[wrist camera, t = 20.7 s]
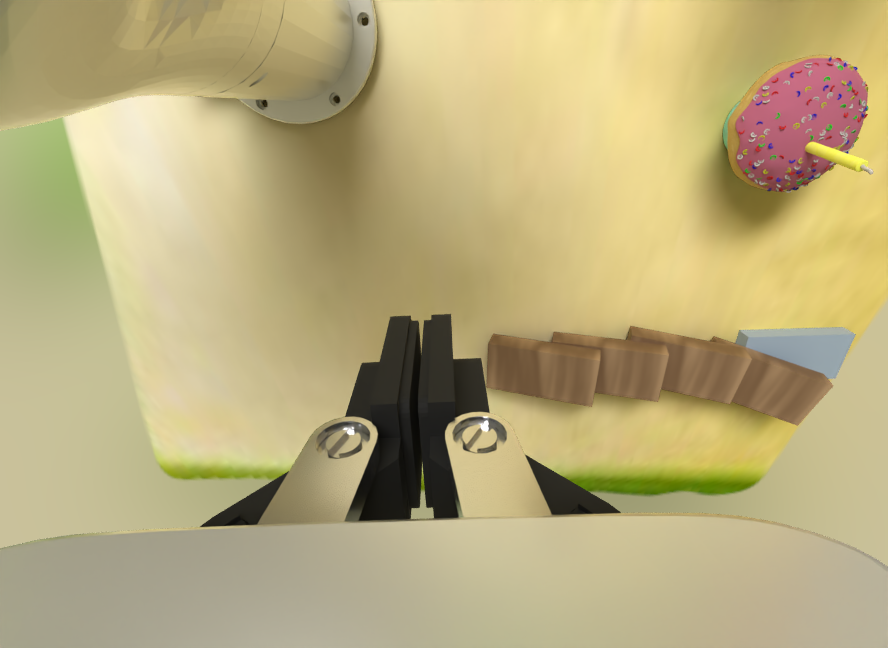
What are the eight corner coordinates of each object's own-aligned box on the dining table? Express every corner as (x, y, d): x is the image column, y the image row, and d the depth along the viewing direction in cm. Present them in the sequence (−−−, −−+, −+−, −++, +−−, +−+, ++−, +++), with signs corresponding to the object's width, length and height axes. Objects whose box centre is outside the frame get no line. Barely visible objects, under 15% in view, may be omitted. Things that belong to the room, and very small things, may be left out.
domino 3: (617, 379, 42) (729, 404, 40) (632, 335, 40) (752, 359, 38) (616, 368, 44) (724, 391, 42) (630, 326, 42) (745, 348, 40)
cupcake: (778, 186, 36) (919, 220, 25) (680, 174, 36) (782, 204, 25) (831, 68, 32) (1023, 49, 22) (721, 53, 32) (863, 26, 21)
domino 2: (547, 385, 43) (657, 401, 40) (552, 341, 41) (669, 355, 38) (549, 374, 44) (655, 389, 42) (553, 331, 42) (665, 344, 40)
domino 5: (690, 386, 43) (797, 425, 41) (718, 346, 40) (833, 385, 39) (687, 375, 44) (790, 412, 43) (713, 336, 42) (823, 373, 40)
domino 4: (734, 381, 43) (835, 378, 43) (748, 337, 41) (855, 334, 41) (722, 370, 45) (819, 367, 45) (735, 327, 43) (838, 324, 43)
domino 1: (486, 387, 43) (591, 406, 40) (488, 343, 41) (600, 360, 38) (491, 376, 45) (592, 394, 42) (493, 333, 42) (600, 349, 39)
